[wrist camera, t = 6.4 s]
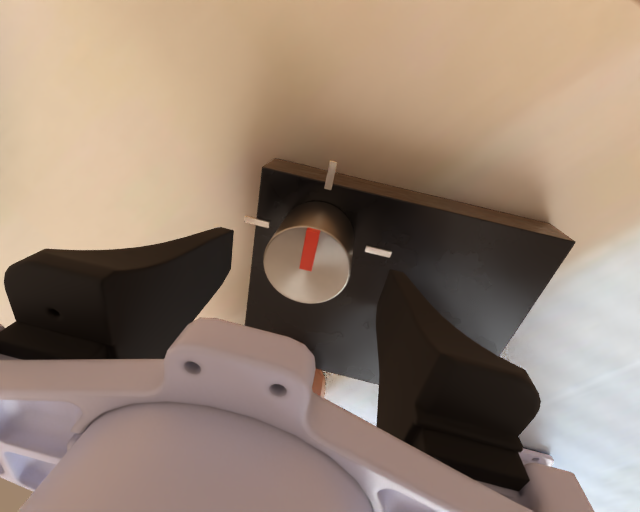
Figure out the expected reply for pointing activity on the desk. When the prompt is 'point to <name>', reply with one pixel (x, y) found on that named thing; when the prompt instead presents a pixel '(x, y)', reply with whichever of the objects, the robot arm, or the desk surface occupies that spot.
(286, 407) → the robot arm
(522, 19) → the desk surface
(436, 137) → the desk surface
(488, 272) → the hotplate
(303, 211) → the dial
